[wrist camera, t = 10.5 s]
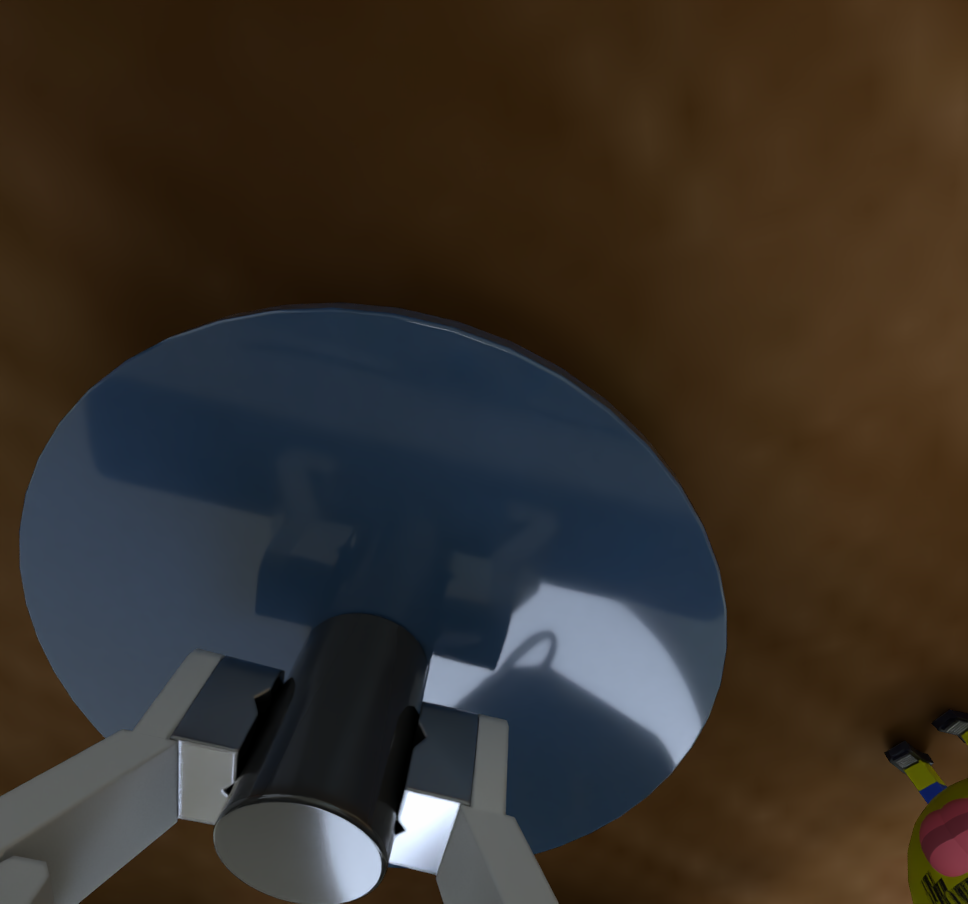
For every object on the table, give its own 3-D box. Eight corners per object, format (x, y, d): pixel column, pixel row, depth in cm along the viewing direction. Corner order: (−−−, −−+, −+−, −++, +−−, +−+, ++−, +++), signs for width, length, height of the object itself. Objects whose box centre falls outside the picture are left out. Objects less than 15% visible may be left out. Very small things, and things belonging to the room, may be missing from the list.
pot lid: (110, 775, 15) (-58, 1009, 10) (-4, 232, 9) (-461, 272, 5) (617, 860, 15) (652, 1129, 10) (822, 367, 9) (1074, 523, 5)
